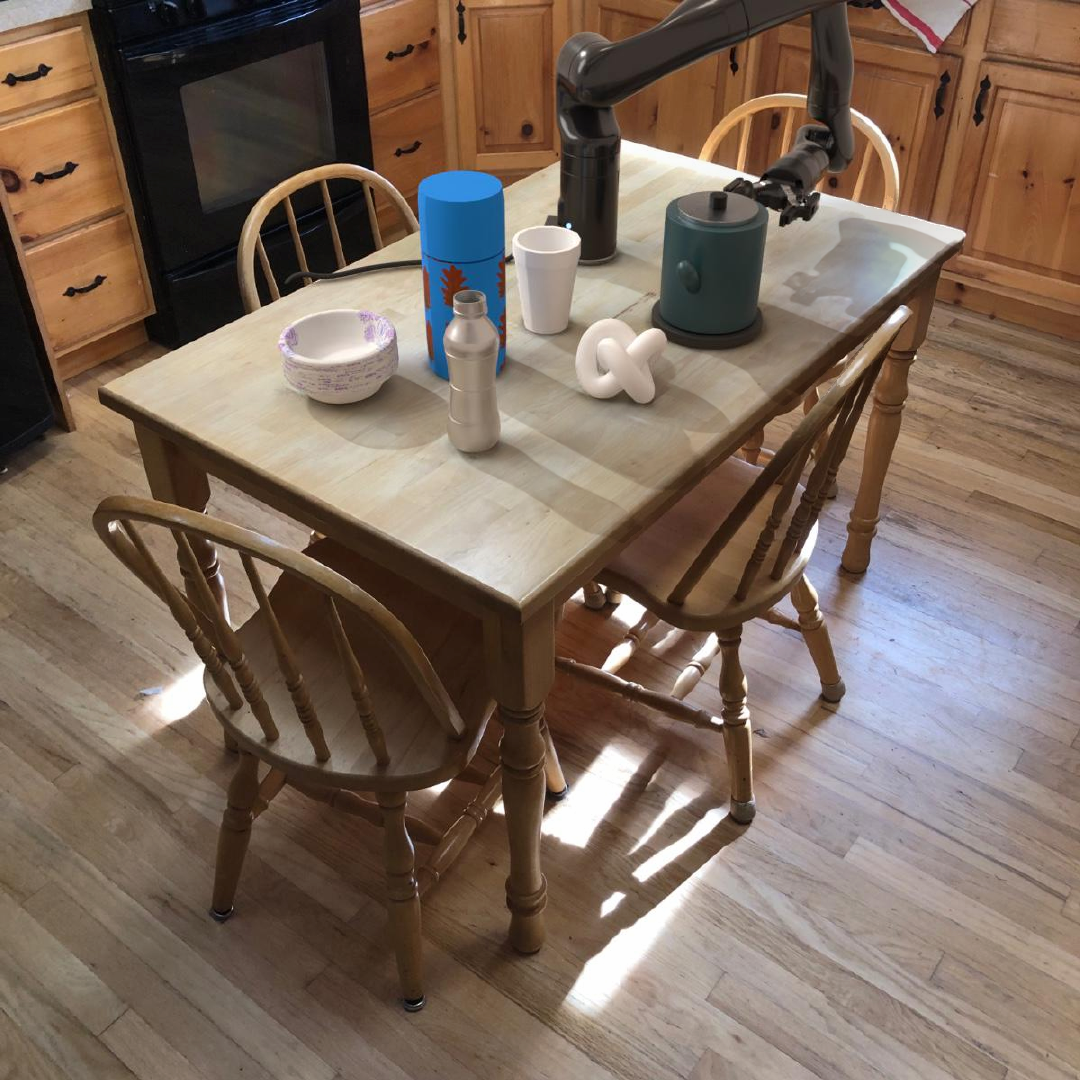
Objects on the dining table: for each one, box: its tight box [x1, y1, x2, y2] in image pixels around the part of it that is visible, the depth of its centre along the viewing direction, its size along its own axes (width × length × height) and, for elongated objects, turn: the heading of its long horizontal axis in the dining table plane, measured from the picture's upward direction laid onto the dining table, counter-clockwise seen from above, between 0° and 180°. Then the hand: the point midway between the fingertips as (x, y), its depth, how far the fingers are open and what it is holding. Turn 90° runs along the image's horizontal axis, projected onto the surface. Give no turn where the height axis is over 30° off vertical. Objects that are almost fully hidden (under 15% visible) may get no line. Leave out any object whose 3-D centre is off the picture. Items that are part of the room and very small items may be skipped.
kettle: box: [659, 179, 770, 334], centre depth 166 cm, size 24×14×17 cm, turn 151°
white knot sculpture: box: [575, 318, 668, 404], centre depth 153 cm, size 11×12×9 cm
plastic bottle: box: [443, 290, 502, 453], centre depth 140 cm, size 6×7×20 cm
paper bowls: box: [277, 308, 400, 405], centre depth 155 cm, size 15×15×8 cm
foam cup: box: [511, 225, 581, 335], centre depth 168 cm, size 10×9×13 cm
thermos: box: [417, 170, 507, 381], centre depth 155 cm, size 11×11×25 cm
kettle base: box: [650, 298, 764, 350], centre depth 172 cm, size 16×16×2 cm
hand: (754, 215), depth 177 cm, fingers open, 8 cm apart
